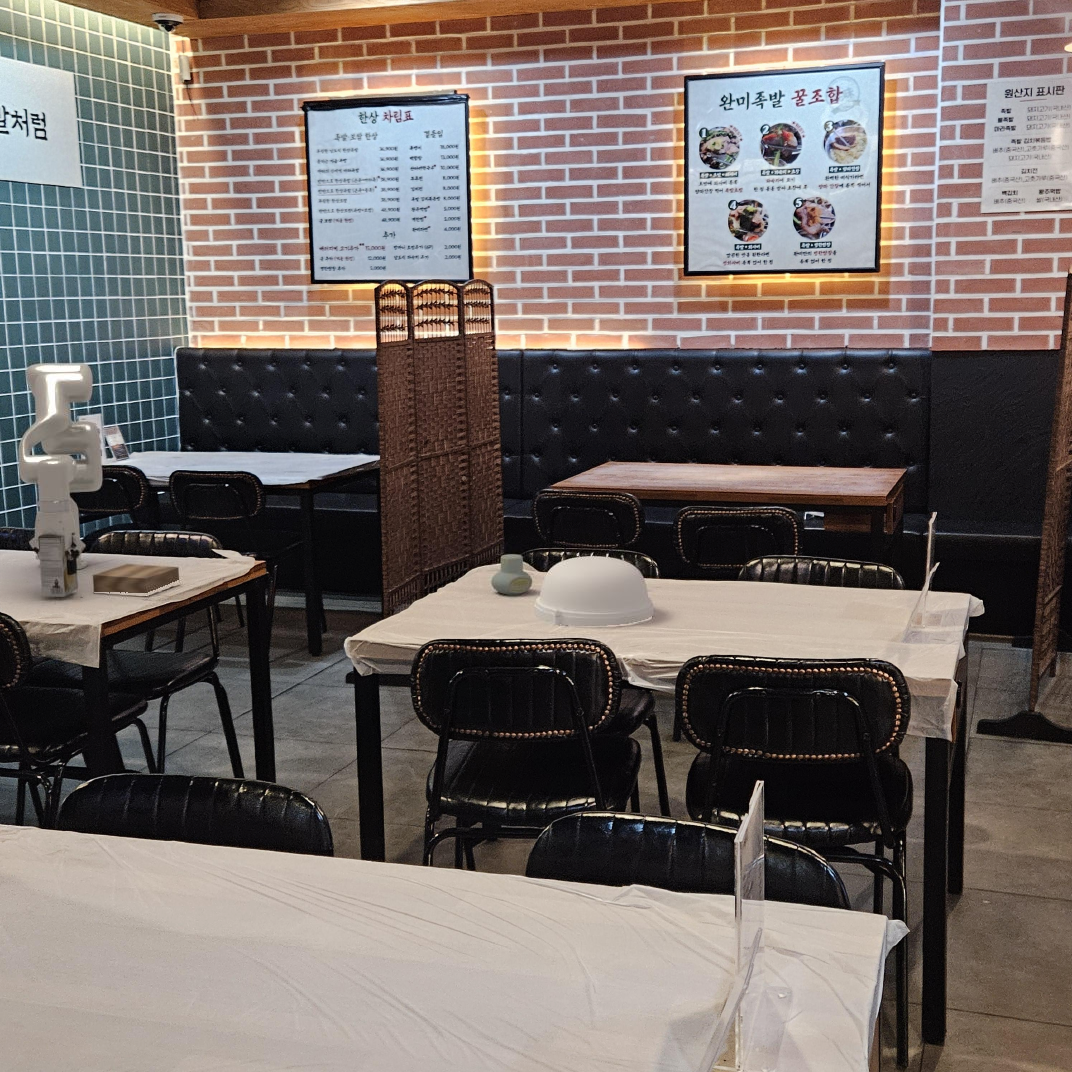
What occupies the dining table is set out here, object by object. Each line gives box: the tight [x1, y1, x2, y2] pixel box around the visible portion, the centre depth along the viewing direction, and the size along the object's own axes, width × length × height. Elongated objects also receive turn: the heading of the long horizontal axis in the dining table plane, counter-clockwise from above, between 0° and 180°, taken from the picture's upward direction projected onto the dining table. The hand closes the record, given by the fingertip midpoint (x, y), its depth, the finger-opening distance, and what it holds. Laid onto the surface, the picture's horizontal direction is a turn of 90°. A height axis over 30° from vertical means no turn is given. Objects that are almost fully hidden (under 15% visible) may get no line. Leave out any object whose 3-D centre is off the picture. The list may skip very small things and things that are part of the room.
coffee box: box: [38, 535, 79, 598], centre depth 346 cm, size 9×6×16 cm
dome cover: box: [533, 555, 655, 626], centre depth 328 cm, size 32×30×14 cm
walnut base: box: [92, 563, 180, 593], centre depth 356 cm, size 16×16×5 cm
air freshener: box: [490, 553, 533, 596], centre depth 352 cm, size 11×8×10 cm
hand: (58, 572), depth 346 cm, fingers closed on coffee box, 7 cm apart
